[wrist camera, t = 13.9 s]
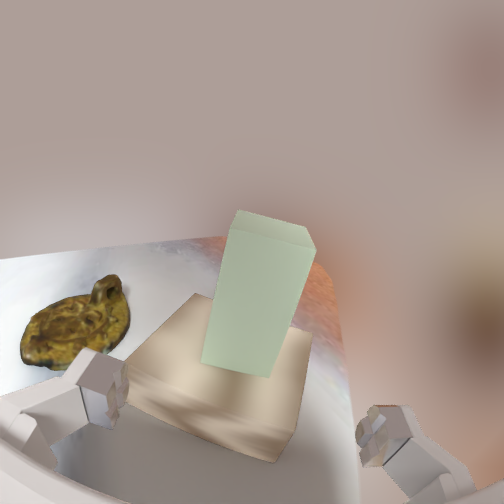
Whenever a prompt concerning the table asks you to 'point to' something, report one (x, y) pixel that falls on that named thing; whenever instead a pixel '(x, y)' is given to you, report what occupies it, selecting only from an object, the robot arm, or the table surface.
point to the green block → (256, 293)
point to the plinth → (218, 386)
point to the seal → (77, 326)
